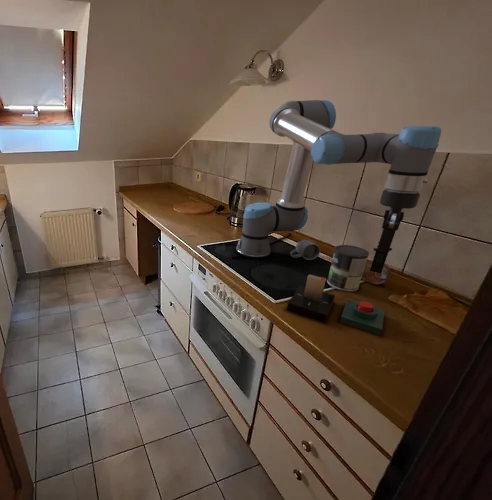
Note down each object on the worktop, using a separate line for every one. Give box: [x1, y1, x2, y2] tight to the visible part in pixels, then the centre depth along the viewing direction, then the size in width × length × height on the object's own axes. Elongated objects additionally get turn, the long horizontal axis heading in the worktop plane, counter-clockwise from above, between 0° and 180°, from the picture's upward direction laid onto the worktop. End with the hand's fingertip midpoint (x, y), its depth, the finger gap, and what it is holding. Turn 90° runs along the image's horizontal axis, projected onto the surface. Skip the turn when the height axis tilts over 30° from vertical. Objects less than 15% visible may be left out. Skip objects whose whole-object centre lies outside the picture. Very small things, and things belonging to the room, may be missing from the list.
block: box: [339, 299, 385, 336], centre depth 92 cm, size 12×10×4 cm
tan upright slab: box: [303, 274, 327, 302], centre depth 97 cm, size 5×2×8 cm, turn 50°
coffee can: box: [326, 244, 370, 292], centre depth 109 cm, size 10×10×14 cm
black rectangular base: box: [286, 285, 336, 323], centre depth 99 cm, size 14×11×3 cm
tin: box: [361, 257, 392, 285], centre depth 114 cm, size 15×3×8 cm, turn 24°
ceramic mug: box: [289, 239, 321, 261], centre depth 134 cm, size 11×8×8 cm
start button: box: [358, 300, 374, 312], centre depth 91 cm, size 4×4×2 cm
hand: (375, 271), depth 86 cm, fingers closed
